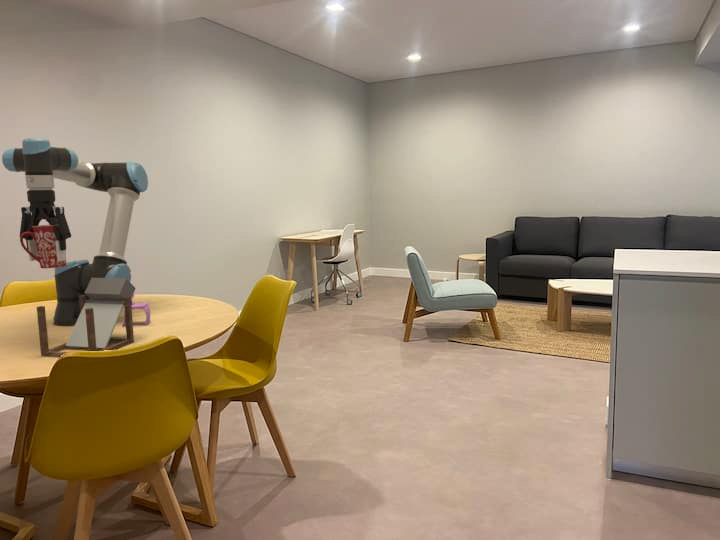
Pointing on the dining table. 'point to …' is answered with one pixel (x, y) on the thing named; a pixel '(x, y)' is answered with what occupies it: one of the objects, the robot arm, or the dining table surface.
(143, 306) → the purple tall handled piece
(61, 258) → the robot arm
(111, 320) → the trapdoor
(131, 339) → the frame
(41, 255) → the mug
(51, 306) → the dining table surface
